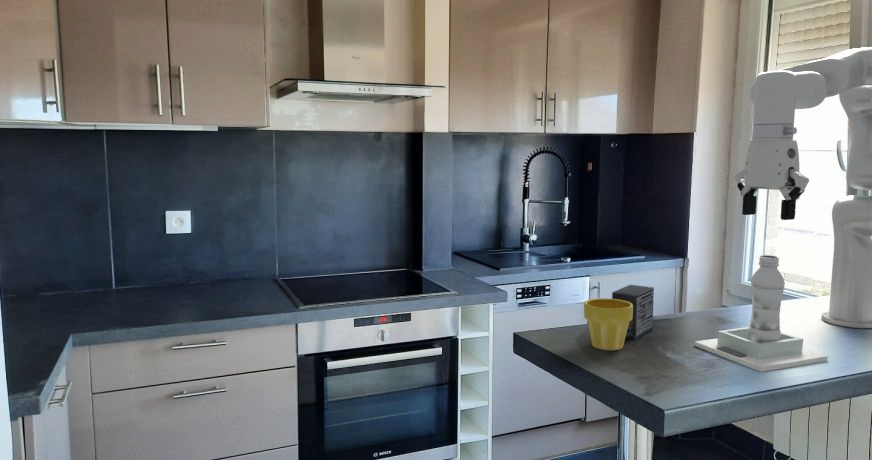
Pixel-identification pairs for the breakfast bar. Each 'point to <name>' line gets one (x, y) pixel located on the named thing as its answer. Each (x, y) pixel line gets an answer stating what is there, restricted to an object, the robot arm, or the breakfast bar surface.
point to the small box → (638, 308)
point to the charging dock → (760, 350)
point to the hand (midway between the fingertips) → (767, 216)
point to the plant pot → (608, 322)
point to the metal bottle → (766, 301)
